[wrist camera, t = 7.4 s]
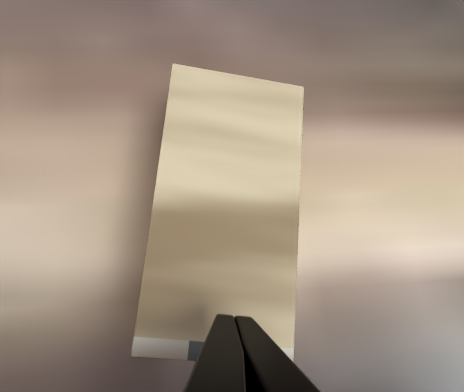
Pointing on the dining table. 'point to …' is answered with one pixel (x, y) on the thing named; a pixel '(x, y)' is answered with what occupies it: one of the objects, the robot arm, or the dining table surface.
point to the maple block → (222, 213)
